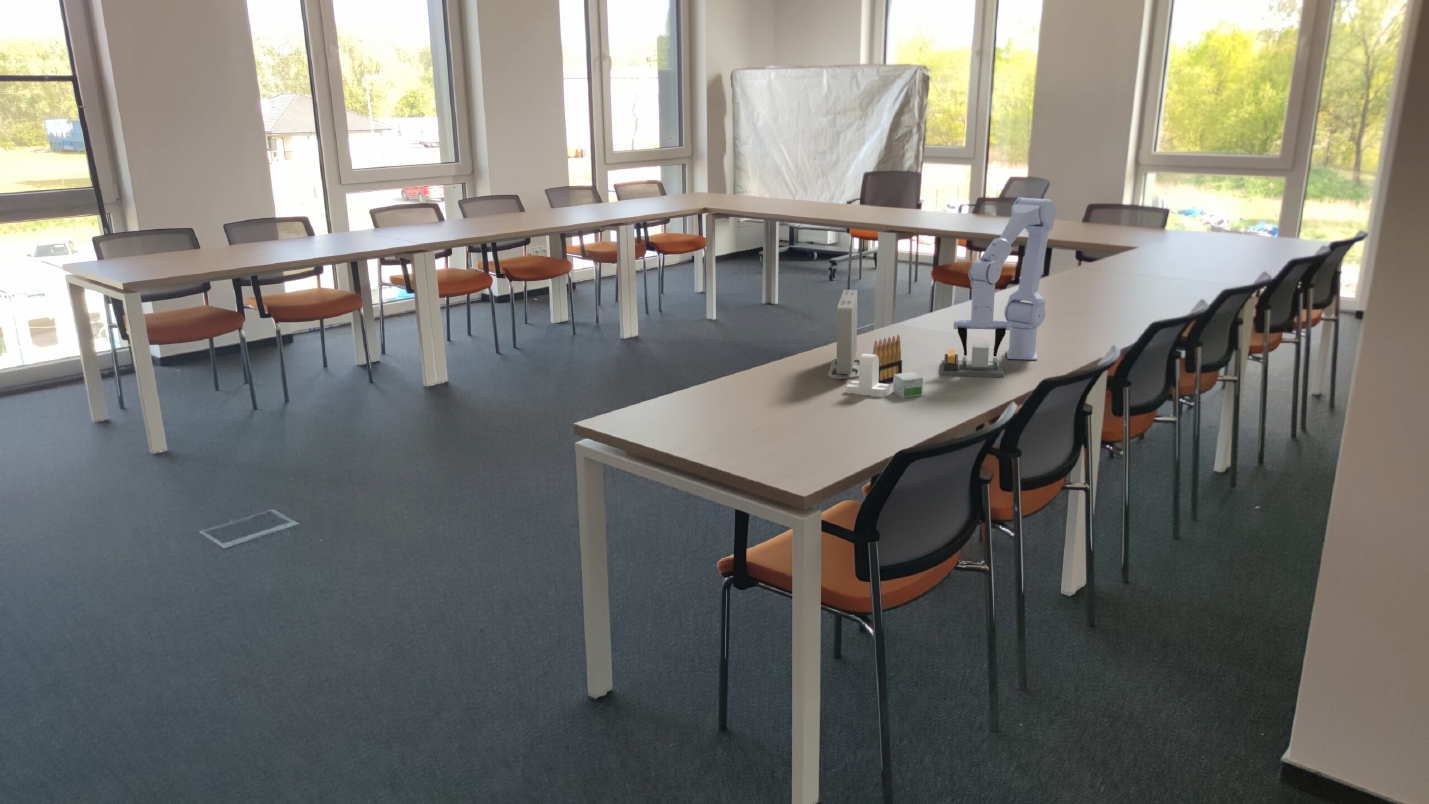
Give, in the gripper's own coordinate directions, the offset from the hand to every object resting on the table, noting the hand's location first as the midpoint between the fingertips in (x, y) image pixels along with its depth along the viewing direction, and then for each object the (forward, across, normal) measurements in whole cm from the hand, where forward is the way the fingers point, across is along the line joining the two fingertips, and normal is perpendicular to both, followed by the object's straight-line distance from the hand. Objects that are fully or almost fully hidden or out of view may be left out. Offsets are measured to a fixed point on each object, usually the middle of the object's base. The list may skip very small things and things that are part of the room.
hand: (980, 355), depth 258 cm
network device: (+4, -36, -3) cm, 36 cm away
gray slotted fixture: (+3, -2, 0) cm, 4 cm away
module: (+3, 0, 0) cm, 3 cm away
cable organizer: (+4, -28, -24) cm, 37 cm away
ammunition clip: (+4, -24, -14) cm, 28 cm away
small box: (+4, -18, -24) cm, 30 cm away
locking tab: (+2, -8, 0) cm, 8 cm away
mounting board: (+4, -2, 0) cm, 5 cm away
